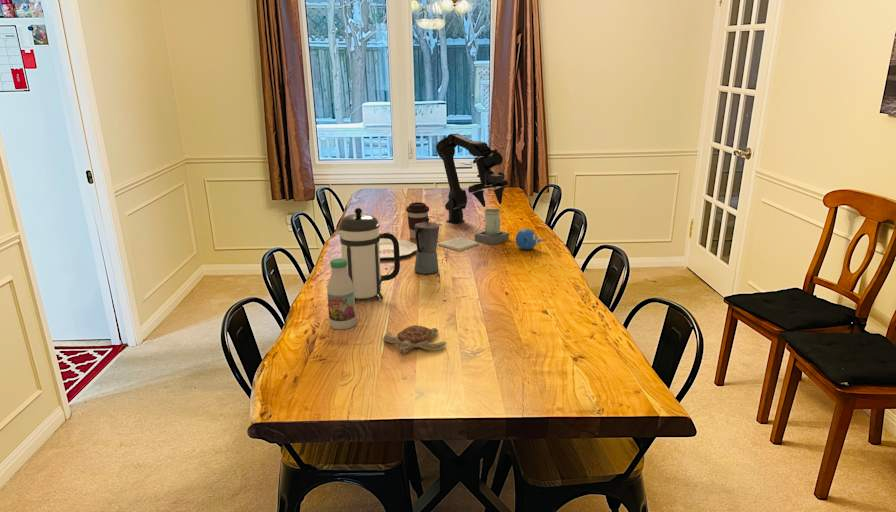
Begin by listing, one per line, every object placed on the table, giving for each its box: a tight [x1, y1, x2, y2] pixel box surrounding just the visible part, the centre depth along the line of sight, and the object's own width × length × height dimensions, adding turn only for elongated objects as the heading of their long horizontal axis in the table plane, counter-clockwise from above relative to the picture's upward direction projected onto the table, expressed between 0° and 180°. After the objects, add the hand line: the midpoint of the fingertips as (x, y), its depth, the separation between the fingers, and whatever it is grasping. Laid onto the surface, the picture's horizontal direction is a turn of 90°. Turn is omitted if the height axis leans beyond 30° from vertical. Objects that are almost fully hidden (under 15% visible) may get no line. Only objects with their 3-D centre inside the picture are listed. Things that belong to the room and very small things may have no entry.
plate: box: [379, 238, 418, 260], centre depth 236 cm, size 25×25×2 cm
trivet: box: [437, 236, 480, 252], centre depth 244 cm, size 12×12×1 cm
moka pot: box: [414, 217, 440, 275], centre depth 211 cm, size 10×15×20 cm, turn 161°
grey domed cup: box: [484, 208, 501, 237], centre depth 248 cm, size 9×7×13 cm
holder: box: [474, 229, 510, 246], centre depth 250 cm, size 10×10×3 cm
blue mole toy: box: [515, 228, 546, 251], centre depth 237 cm, size 12×12×8 cm
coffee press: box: [334, 207, 401, 302], centre depth 187 cm, size 17×16×30 cm
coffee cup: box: [405, 201, 430, 240], centre depth 253 cm, size 10×10×15 cm
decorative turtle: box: [382, 324, 447, 354], centre depth 159 cm, size 18×17×5 cm
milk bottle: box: [326, 257, 357, 330], centre depth 167 cm, size 8×8×20 cm
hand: (492, 205), depth 255 cm, fingers open, 9 cm apart
